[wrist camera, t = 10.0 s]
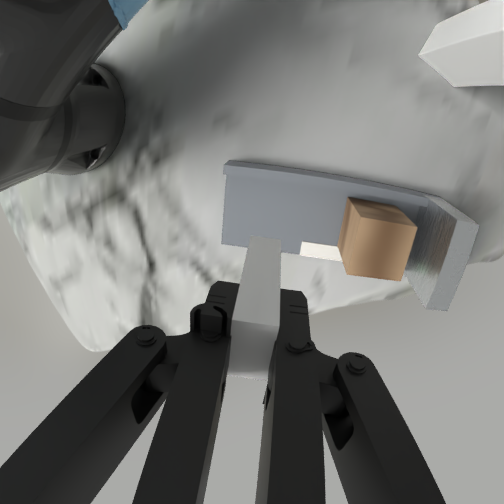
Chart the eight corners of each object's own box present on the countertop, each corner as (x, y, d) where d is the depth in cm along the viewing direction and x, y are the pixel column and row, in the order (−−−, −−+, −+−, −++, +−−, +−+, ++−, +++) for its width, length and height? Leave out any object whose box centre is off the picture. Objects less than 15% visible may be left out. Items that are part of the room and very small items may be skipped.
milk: (453, 87, 27) (590, 95, 8) (416, 55, 27) (543, 22, 7) (471, 54, 25) (601, 43, 5) (435, 22, 24) (555, -24, 4)
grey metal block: (401, 268, 37) (425, 309, 29) (422, 194, 32) (457, 219, 24) (420, 271, 37) (447, 310, 29) (442, 199, 32) (479, 225, 24)
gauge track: (223, 240, 39) (218, 251, 36) (229, 160, 35) (223, 165, 32) (417, 267, 38) (425, 279, 35) (438, 196, 33) (449, 203, 30)
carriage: (335, 253, 37) (344, 283, 30) (347, 196, 34) (360, 217, 27) (385, 260, 36) (402, 290, 30) (400, 206, 33) (422, 228, 27)
